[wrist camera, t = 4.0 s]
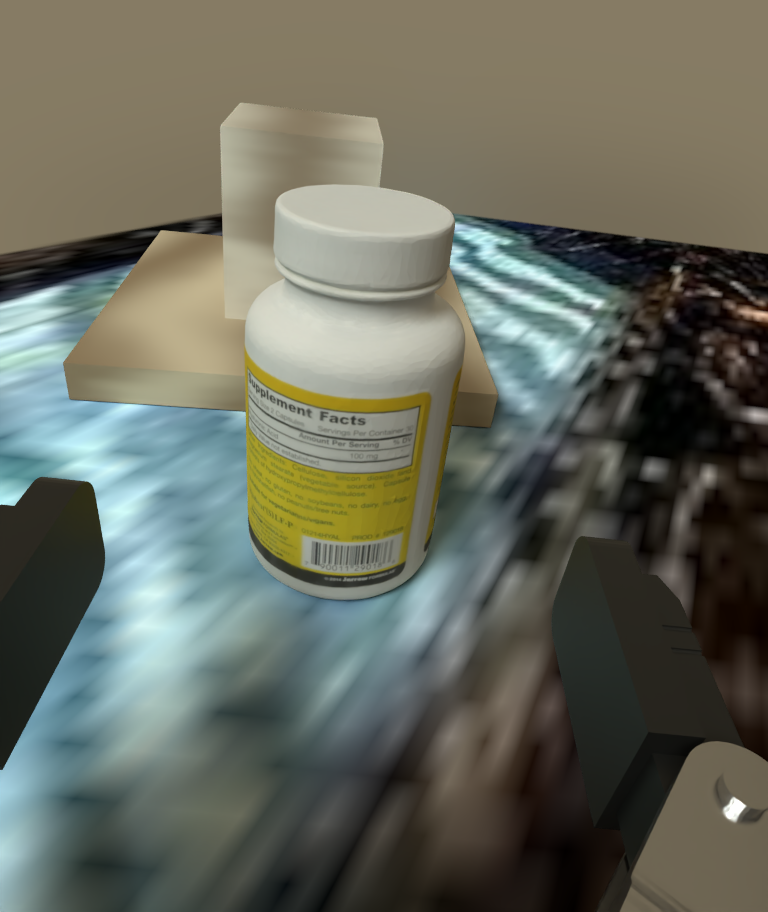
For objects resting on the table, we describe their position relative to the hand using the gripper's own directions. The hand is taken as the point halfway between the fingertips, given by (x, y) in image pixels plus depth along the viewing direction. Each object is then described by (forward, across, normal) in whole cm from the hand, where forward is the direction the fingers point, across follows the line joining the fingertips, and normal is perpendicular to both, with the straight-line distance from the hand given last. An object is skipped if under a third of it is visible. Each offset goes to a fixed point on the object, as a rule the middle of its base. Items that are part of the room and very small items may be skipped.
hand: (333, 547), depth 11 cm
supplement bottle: (+7, 0, +6) cm, 9 cm away
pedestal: (+22, +3, +6) cm, 23 cm away
